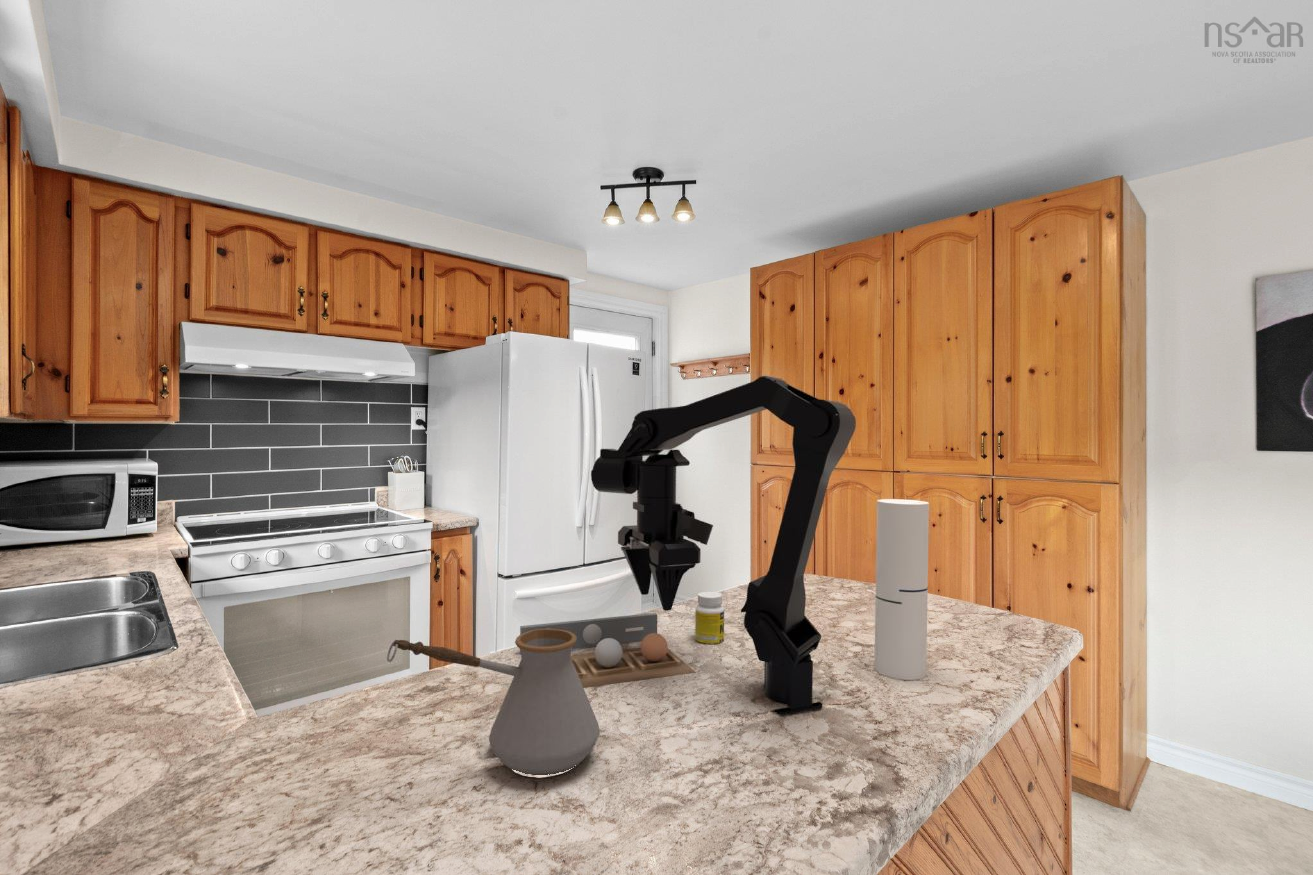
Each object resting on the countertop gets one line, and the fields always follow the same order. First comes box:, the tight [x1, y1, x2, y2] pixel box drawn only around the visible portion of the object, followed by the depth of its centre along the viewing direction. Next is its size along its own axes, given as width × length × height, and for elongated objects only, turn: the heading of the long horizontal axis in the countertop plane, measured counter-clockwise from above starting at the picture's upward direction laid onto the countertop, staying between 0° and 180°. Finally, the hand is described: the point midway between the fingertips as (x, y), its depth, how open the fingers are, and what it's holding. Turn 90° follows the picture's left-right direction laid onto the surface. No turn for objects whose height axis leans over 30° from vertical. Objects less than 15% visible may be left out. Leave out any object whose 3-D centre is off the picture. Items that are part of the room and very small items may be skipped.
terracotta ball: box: [640, 632, 669, 662], centre depth 93 cm, size 4×4×4 cm
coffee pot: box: [386, 629, 600, 775], centre depth 64 cm, size 21×12×15 cm, turn 120°
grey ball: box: [594, 638, 623, 668], centre depth 90 cm, size 4×4×4 cm
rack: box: [570, 647, 697, 689], centre depth 90 cm, size 12×22×2 cm, turn 111°
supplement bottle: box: [694, 591, 725, 646], centre depth 102 cm, size 5×5×8 cm
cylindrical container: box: [874, 498, 930, 681], centre depth 93 cm, size 7×7×25 cm
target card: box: [519, 612, 658, 655], centre depth 99 cm, size 1×22×5 cm, turn 112°
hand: (655, 601), depth 92 cm, fingers open, 9 cm apart
